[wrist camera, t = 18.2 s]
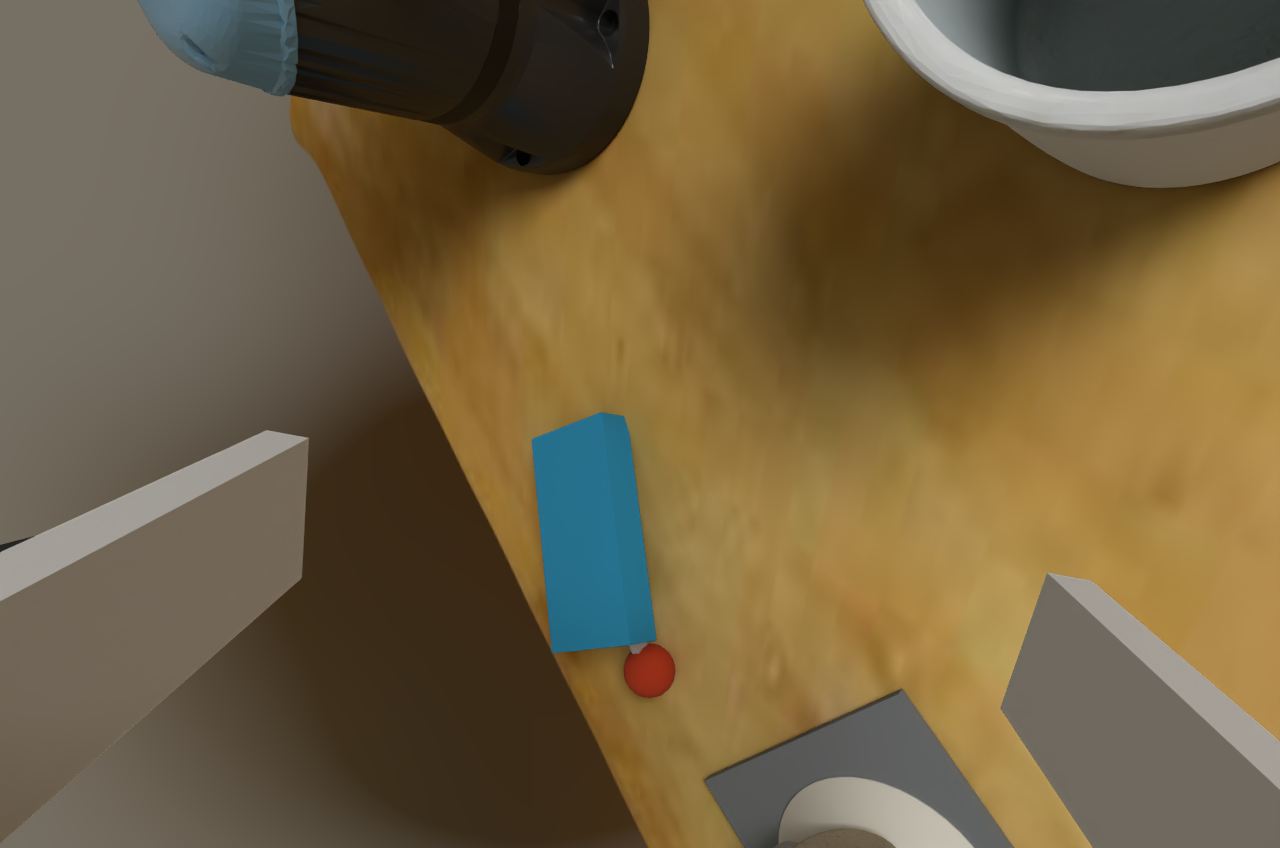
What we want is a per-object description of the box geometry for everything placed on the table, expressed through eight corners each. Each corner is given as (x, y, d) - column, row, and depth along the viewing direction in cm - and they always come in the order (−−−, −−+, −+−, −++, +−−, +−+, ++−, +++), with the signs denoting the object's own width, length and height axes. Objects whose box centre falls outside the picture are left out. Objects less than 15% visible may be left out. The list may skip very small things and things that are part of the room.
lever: (601, 447, 55) (631, 694, 51) (531, 439, 50) (557, 713, 46) (670, 424, 51) (710, 691, 47) (601, 412, 46) (638, 711, 41)
